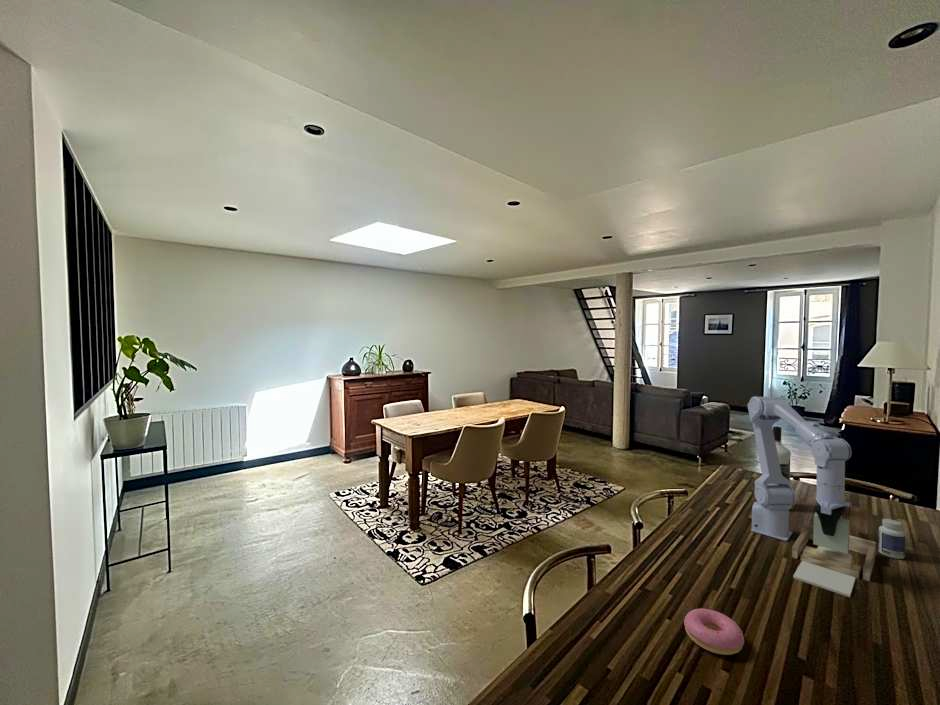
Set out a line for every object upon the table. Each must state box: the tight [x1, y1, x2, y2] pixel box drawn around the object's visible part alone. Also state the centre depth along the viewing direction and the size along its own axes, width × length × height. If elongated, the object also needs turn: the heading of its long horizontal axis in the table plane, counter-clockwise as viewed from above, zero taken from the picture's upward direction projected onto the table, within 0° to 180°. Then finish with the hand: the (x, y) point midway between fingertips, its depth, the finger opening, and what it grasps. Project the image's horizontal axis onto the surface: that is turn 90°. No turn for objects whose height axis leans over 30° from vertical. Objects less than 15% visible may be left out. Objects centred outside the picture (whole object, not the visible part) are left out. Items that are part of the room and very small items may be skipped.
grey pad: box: [792, 560, 856, 598], centre depth 107 cm, size 11×11×1 cm
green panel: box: [812, 512, 851, 554], centre depth 111 cm, size 7×3×8 cm, turn 42°
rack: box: [791, 523, 877, 582], centre depth 118 cm, size 16×19×4 cm
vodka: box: [768, 425, 793, 508], centre depth 154 cm, size 9×9×30 cm
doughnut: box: [683, 607, 745, 656], centre depth 86 cm, size 11×11×4 cm
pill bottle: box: [878, 518, 906, 560], centre depth 119 cm, size 5×5×10 cm
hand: (829, 532), depth 112 cm, fingers closed on green panel, 3 cm apart
